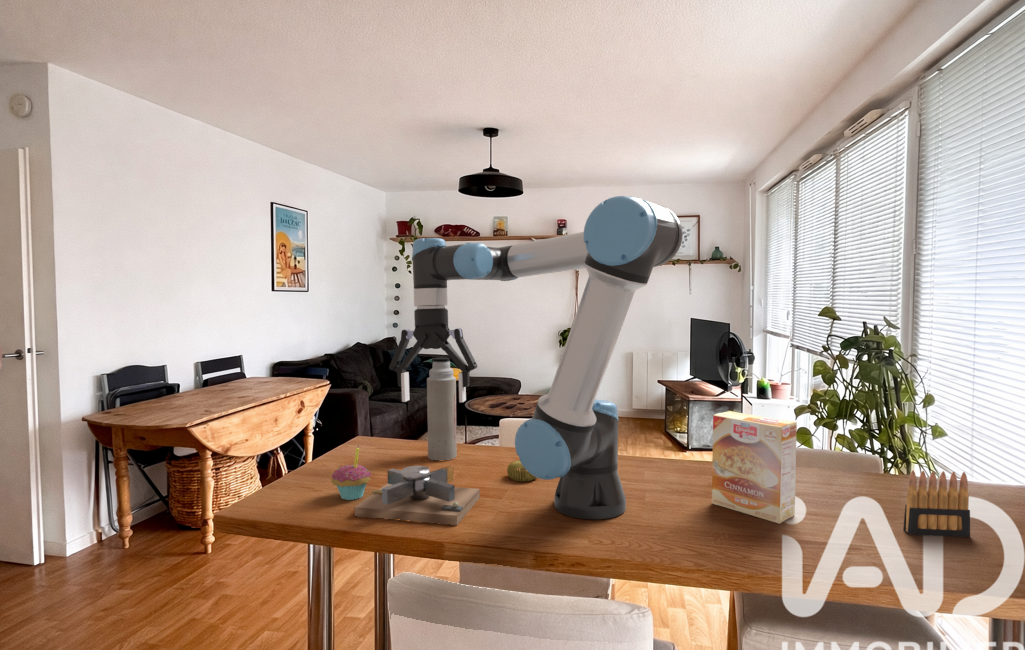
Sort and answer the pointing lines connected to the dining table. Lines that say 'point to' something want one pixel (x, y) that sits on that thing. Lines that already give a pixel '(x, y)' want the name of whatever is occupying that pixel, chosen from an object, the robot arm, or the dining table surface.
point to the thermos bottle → (441, 411)
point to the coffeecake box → (754, 465)
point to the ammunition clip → (937, 506)
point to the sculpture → (519, 472)
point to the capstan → (419, 484)
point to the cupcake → (351, 479)
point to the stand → (420, 507)
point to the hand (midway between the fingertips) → (433, 401)
